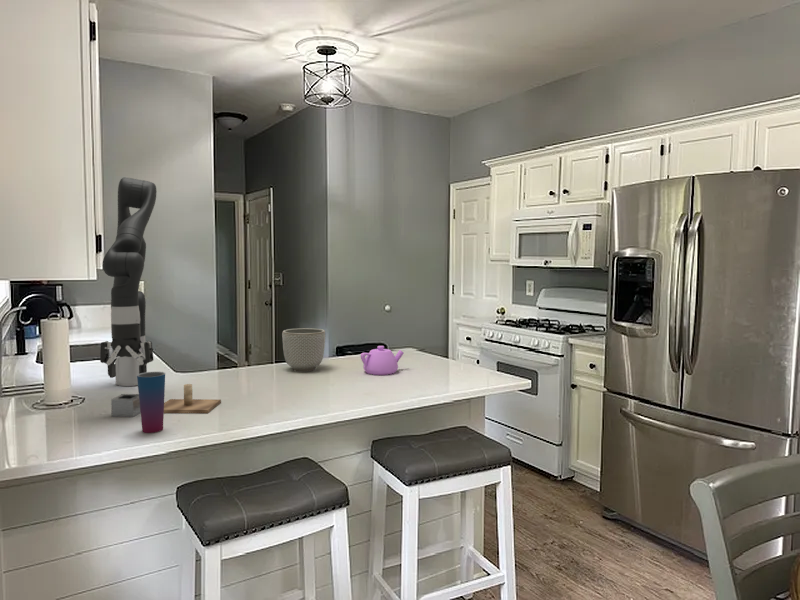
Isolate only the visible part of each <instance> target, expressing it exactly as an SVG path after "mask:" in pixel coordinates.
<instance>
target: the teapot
mask: <svg viewBox="0 0 800 600" xmlns="http://www.w3.org/2000/svg"><path fill="white" fill-rule="evenodd" d="M403 355H404V351H402V350H400V349H399V350H398V352H397V353H396V354H395V355H394V352H393V351H392V350H391V349H389V348H385V346H384V345H378V346H377V348H373V349H371V350H370V351H369V352H362V353H360V359H361V362H362V363H363V366H362V367H363V370H364V372H365V373H366V374H368V375H371V374H373V375H374V376H388V375H387V374H390V375H393V374H392V373H394V374H395V373H396V372H397V371H398V369H399V364H398V362H399V360H401V358H402V357H403Z"/></svg>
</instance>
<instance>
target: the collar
mask: <svg viewBox="0 0 800 600" xmlns="http://www.w3.org/2000/svg"><path fill="white" fill-rule="evenodd" d="M110 401H111V402H110V405H111V406H110V407H111V417H113V418H114V417H115V418H118V417H119V418H122V417H123V418H124V417H125V418H127V417H128V418H133V417H136V416H137V415H139V414H141V412H140V401H139V393H138V394H137V393H135V394H133V393H121V394H119V395H117V396H116V397H114V398H111V400H110Z"/></svg>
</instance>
